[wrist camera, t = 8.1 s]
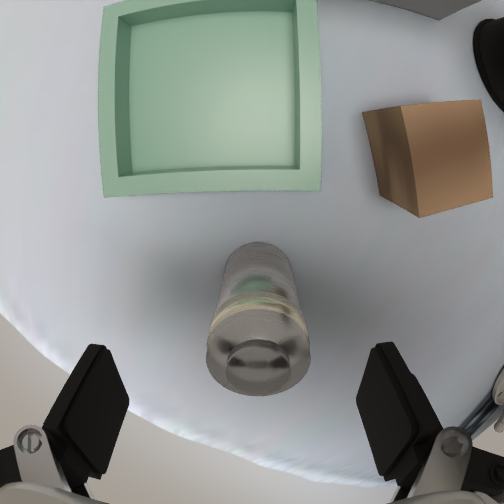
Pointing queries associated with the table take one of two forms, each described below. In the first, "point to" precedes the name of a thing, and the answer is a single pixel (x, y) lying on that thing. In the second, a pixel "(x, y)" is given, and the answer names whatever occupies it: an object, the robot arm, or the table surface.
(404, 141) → the walnut block
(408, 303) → the table surface
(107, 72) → the tray
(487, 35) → the aerosol can
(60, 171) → the table surface
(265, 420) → the table surface
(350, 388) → the table surface
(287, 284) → the fuse
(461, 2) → the box
